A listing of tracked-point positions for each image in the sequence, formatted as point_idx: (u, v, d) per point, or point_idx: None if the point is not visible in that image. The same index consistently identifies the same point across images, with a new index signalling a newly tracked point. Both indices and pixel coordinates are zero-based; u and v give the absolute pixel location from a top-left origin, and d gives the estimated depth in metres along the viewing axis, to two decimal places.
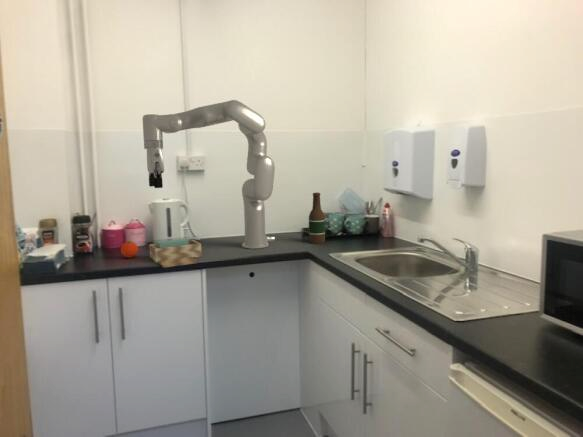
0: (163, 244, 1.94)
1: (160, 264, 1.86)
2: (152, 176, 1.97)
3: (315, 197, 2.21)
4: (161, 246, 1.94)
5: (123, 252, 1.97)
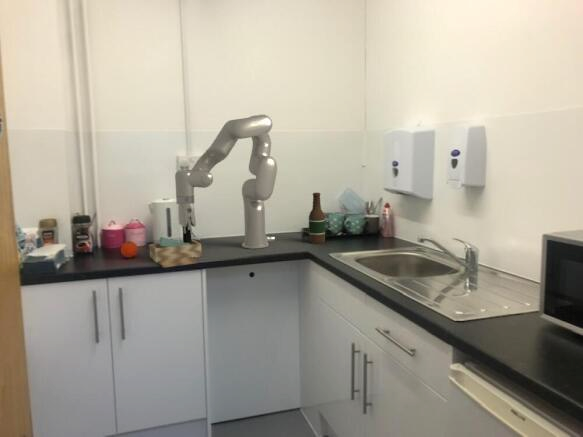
0: (165, 240, 1.95)
1: (160, 264, 1.86)
2: None
3: (315, 197, 2.21)
4: (163, 241, 1.94)
5: (123, 252, 1.97)
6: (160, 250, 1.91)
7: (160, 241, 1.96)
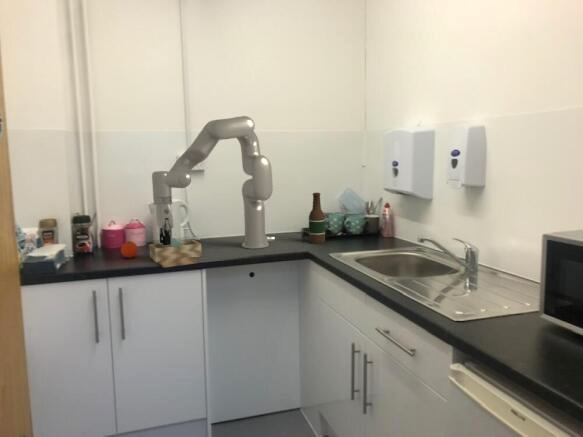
0: None
1: (160, 264, 1.86)
2: (163, 233, 1.98)
3: (315, 197, 2.21)
4: None
5: (123, 252, 1.97)
6: (160, 250, 1.91)
7: None
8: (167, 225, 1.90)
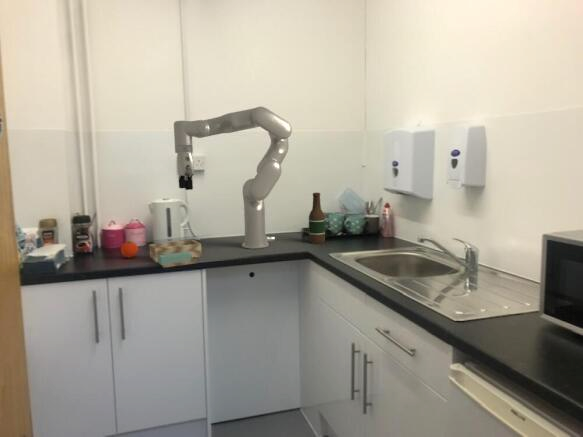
0: (164, 258, 1.83)
1: (160, 264, 1.86)
2: (182, 178, 2.09)
3: (315, 197, 2.21)
4: (162, 260, 1.83)
5: (123, 252, 1.97)
6: (160, 250, 1.91)
7: (159, 260, 1.85)
8: (188, 167, 1.99)
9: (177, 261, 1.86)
